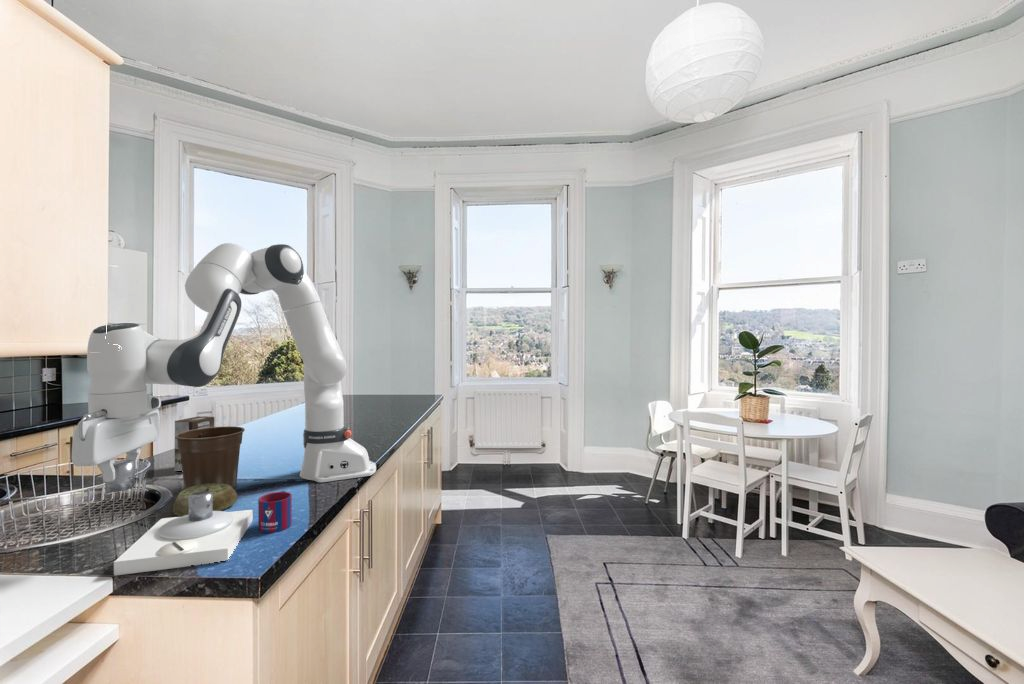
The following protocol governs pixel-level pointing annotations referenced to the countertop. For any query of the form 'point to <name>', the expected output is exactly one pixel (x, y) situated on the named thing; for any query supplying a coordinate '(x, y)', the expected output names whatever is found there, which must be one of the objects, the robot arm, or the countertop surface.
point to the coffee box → (186, 426)
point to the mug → (275, 512)
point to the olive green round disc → (221, 497)
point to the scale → (185, 542)
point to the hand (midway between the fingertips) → (120, 475)
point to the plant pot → (210, 455)
